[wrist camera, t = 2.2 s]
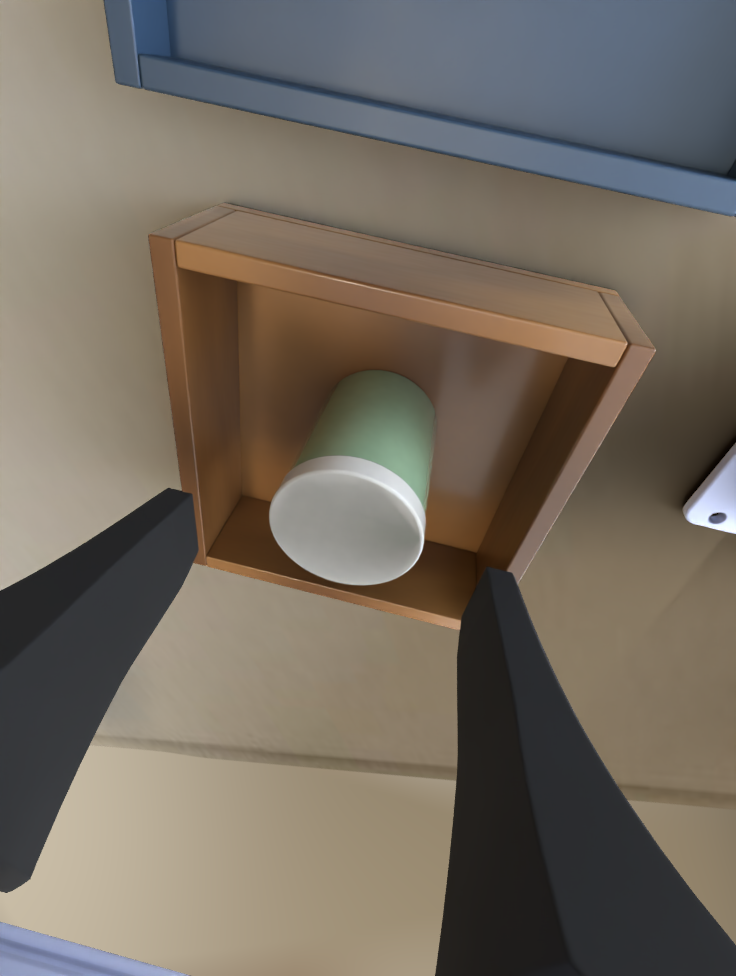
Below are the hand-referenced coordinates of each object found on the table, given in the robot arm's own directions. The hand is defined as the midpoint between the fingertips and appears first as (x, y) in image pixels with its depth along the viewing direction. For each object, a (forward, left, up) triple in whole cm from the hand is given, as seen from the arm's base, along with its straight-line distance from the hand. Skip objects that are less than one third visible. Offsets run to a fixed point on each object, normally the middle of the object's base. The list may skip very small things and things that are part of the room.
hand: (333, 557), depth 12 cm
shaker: (0, 0, -6) cm, 6 cm away
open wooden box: (0, 0, -7) cm, 7 cm away
